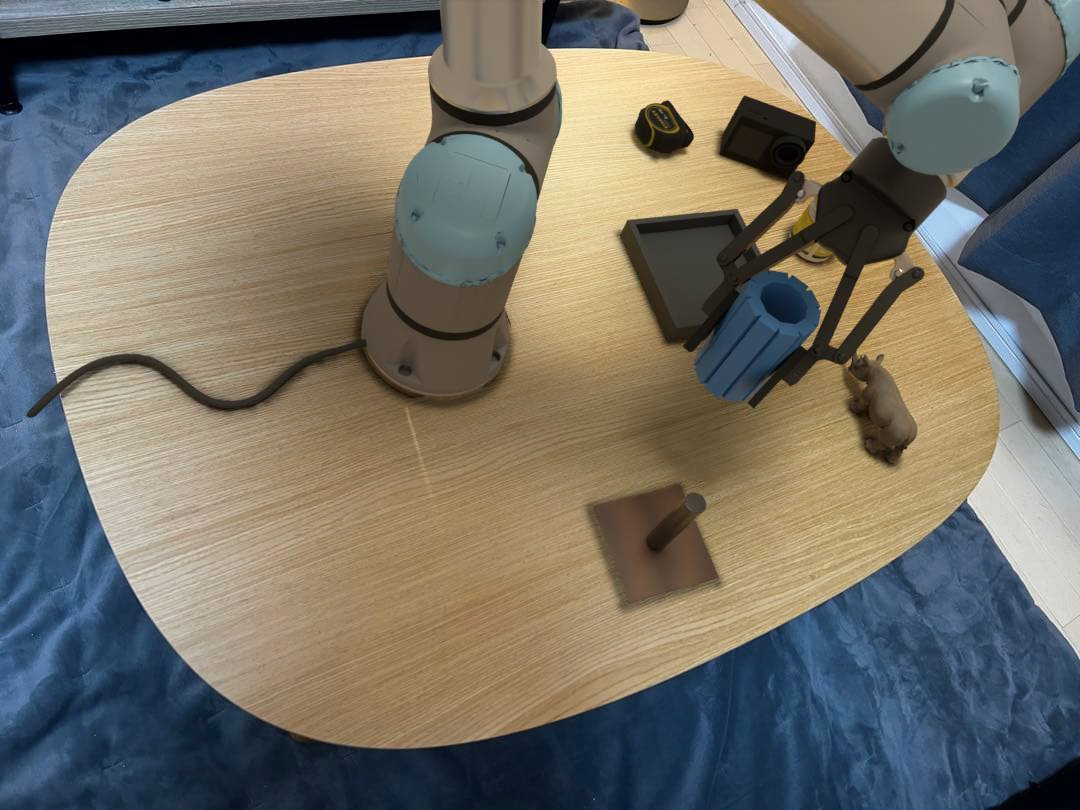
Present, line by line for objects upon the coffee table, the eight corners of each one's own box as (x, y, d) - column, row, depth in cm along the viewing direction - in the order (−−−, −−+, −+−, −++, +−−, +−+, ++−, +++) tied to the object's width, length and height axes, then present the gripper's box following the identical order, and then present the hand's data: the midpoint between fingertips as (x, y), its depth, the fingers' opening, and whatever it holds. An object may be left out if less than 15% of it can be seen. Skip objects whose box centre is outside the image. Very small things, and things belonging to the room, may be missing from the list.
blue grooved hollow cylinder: (710, 408, 76) (768, 341, 66) (684, 346, 78) (735, 274, 69) (770, 396, 78) (833, 330, 68) (742, 337, 80) (799, 266, 71)
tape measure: (688, 153, 113) (700, 132, 110) (647, 163, 110) (658, 141, 107) (663, 117, 115) (673, 95, 112) (621, 125, 112) (631, 103, 109)
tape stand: (625, 606, 80) (667, 569, 71) (589, 509, 84) (625, 463, 75) (714, 580, 84) (766, 542, 74) (676, 489, 88) (721, 442, 78)
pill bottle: (833, 238, 112) (882, 179, 102) (827, 271, 108) (876, 213, 99) (791, 219, 112) (835, 158, 102) (783, 251, 108) (828, 191, 99)
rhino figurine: (857, 359, 102) (886, 332, 97) (901, 463, 96) (934, 439, 91) (828, 361, 101) (856, 334, 96) (871, 466, 95) (903, 442, 90)
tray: (667, 342, 97) (676, 328, 94) (619, 234, 103) (627, 219, 100) (779, 323, 102) (790, 310, 100) (727, 223, 108) (737, 208, 106)
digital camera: (717, 160, 114) (740, 120, 108) (721, 133, 117) (743, 93, 111) (788, 186, 115) (815, 148, 109) (790, 159, 117) (816, 120, 112)
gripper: (1002, 245, 70) (806, 448, 76) (818, 102, 73) (643, 306, 79) (1025, 233, 63) (806, 458, 68) (819, 75, 66) (627, 301, 72)
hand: (719, 376), depth 74 cm, fingers closed on blue grooved hollow cylinder, 7 cm apart
